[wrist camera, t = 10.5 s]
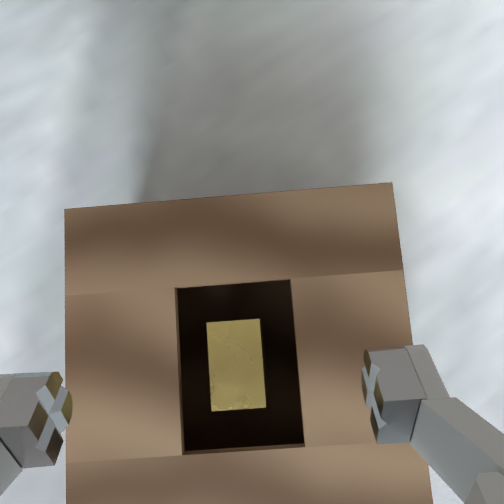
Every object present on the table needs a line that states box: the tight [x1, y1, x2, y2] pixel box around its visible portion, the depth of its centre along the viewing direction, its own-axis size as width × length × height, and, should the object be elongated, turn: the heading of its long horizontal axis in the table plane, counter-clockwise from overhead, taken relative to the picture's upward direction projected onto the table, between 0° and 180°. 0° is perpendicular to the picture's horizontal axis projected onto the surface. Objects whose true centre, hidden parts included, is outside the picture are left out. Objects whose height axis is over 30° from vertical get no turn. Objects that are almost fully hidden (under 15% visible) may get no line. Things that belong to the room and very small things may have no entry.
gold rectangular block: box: [207, 319, 267, 411], centre depth 24 cm, size 4×2×9 cm, turn 4°
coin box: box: [64, 182, 433, 504], centre depth 25 cm, size 16×16×10 cm
